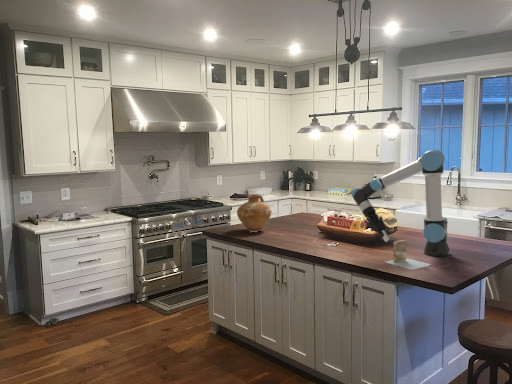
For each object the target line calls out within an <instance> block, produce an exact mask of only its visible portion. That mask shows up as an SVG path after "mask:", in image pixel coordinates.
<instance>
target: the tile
mask: <svg viewBox="0 0 512 384" xmlns="http://www.w3.org/2000/svg"><path fill="white" fill-rule="evenodd" d="M392 252H393V257H392V258H393V259H392V260H393V262H396V263H398V262H403V261H406V258H407V240H405V239H401V240H395V241H393V251H392Z"/></svg>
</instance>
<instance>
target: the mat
mask: <svg viewBox="0 0 512 384" xmlns="http://www.w3.org/2000/svg"><path fill="white" fill-rule="evenodd" d="M384 263H386V264H389V265H393V266H397V267H401V268H404V269H408V270H411V271H412V270H416V269H421V268H425V267H428V266H432V264H430V263H426V262H423V261H422V262H421V261H418V260H415V259H411V258H407V257H406V261H403V262H398V263H396V262H393V259H391V260H387V261H384Z"/></svg>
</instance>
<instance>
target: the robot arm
mask: <svg viewBox="0 0 512 384" xmlns="http://www.w3.org/2000/svg"><path fill="white" fill-rule="evenodd" d="M444 163H445V156H444V154H443V152H442V151H440V150H438V149H431V150H430V149H429V150H427V151H425V152H423V154H422V155H421V156H420V157H418V159H417V160H415V161H413V162H411V163H409V164H407V165H404V166H402V167H400V168H398V169H395V170H394V171H392V172H390V173H387V174H385V175H383V176H381V177H378V178H373V179H371V180H370V181H369V182H367V183H366V184H365V185H364V186H363V187H359V186H358V187H355V188H354V189H352V191H351V193H350V195H351V197H352V199H353V201H354V202H355V203H356V205H357V206H358V208H359V209H360V212H362V214H363V216H364V218H366V219H365V220H364V221H365V223H367V224H368V225H369V227H370V228H371V229H373V231H374V232H375V233H377V234H379V235H380V237H382V239H383V240H384V242H385V243H387V242H388V241H389V240H390V237H389V236H388V234H387V232H386V231H385V230H386V229H387V226H386V225H385V223H384V220H383V217H382V215H380V216H379V215H378V214H377V213H376V212H377V211H376V209H375V208H374V206H373V204H372V203H371V202H370V200H369V198H370V197H372V196H373V195H374V194H376V193H377V192H381V191H382V190H384V189H386V188H389V187H391V186H393V185H395V184H397V183H401V182H402V181H405V180H406V179H410V178H411V177H414V176H416V175H418V174H420V173H422V175H423V176H424V181H425V184H424V185H425V211H426V215H425V217H424V218H423V230H422V234H423V236H424V239H425V240H426V242H425V244H424V247H423V254H424V255H428V256H433V257H447V256H450V255H451V254H450V253H451V251H450V247H449V245H448V223H449V222H448V218H447V217H444V216H443V208H442V207H443V205H442V175H443V174H444Z"/></svg>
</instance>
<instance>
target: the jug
mask: <svg viewBox="0 0 512 384" xmlns="http://www.w3.org/2000/svg"><path fill="white" fill-rule="evenodd" d="M246 197H247V201H246V202H244V203H242V204H240V206H239V207H238V208H237V211H236V214H237V217H238V220H240V222H241V223H242V225H243V226H244V227H245V228H246V229H247V230H248V231H261V230H262V229H263V228H264V227H265V225H266V224H267V222H268V221H269V220H270V219H271V215H272V208H271V207H270V206H269V205H268V204H267V203H265V199H264V197H263V196H262V194H261V193H255V194H249V195H248V194H247V195H246ZM247 230H246V231H247ZM248 231H247V232H248ZM261 232H262V231H261Z"/></svg>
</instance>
